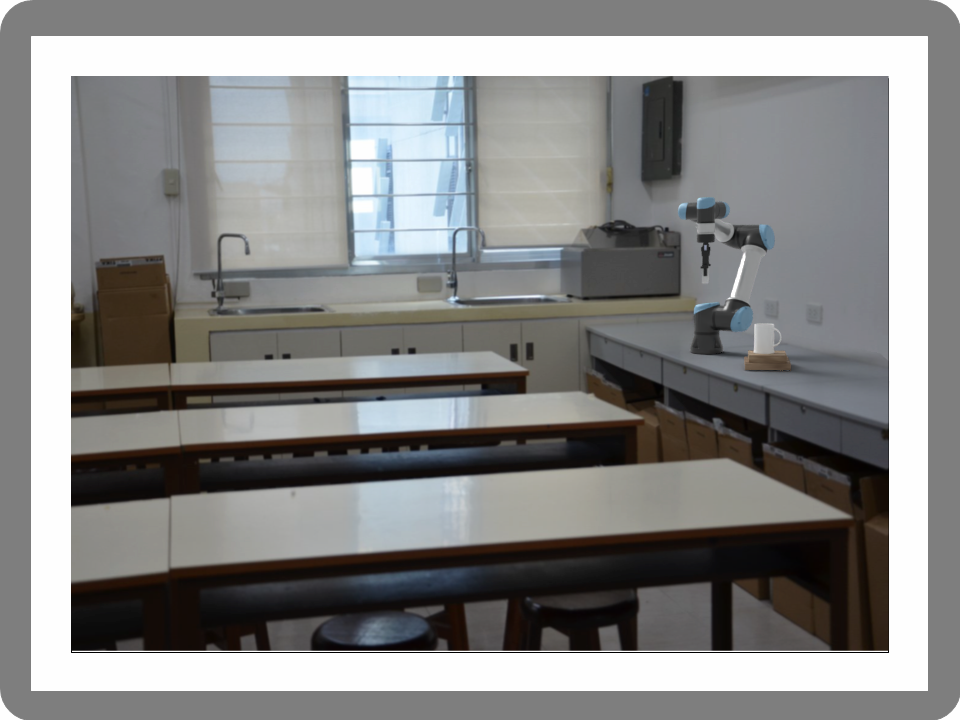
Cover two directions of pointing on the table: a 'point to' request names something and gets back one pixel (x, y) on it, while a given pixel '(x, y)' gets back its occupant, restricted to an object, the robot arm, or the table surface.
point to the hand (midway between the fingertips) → (705, 282)
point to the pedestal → (767, 361)
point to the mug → (765, 338)
